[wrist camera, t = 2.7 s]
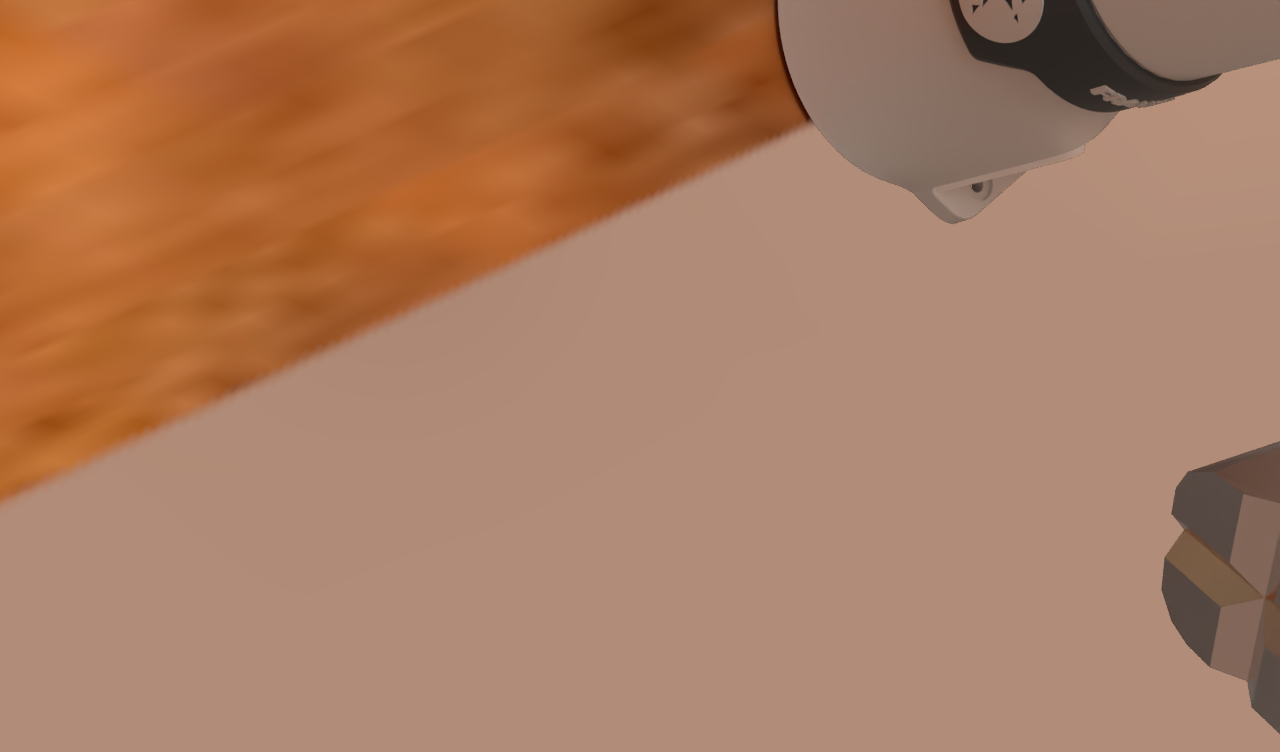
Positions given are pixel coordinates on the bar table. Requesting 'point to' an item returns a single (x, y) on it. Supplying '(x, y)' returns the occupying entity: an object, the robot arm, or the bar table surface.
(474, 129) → the bar table surface
